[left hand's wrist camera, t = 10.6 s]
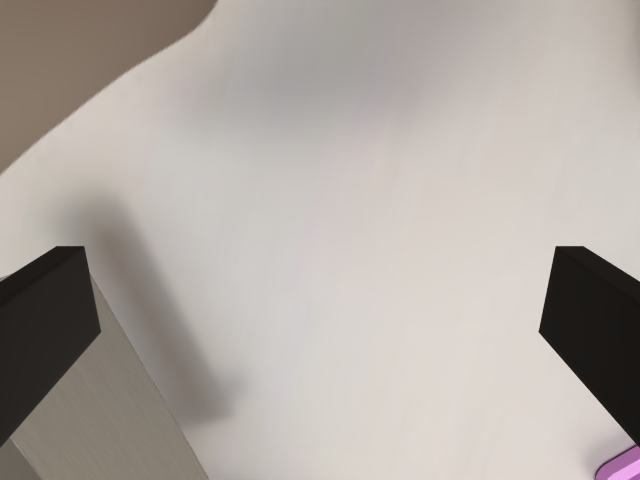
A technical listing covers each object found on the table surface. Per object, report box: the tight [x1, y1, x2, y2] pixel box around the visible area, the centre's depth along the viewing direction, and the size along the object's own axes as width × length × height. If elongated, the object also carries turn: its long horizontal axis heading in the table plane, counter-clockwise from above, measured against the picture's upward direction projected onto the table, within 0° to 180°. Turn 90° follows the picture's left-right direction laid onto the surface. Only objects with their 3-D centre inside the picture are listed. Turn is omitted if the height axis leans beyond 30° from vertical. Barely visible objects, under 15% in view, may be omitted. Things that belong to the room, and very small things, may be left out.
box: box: [0, 272, 210, 480], centre depth 29 cm, size 26×6×12 cm, turn 19°
